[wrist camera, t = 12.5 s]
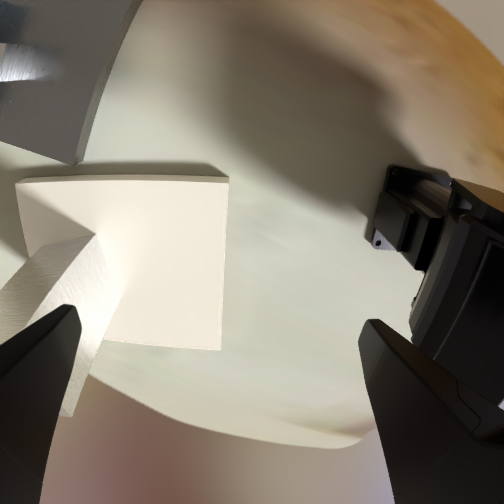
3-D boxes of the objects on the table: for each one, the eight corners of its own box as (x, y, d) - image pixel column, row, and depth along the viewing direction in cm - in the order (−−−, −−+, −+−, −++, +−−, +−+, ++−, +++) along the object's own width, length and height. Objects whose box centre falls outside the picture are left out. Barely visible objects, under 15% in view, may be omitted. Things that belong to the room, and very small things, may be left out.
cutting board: (229, 177, 20) (228, 183, 18) (221, 338, 26) (220, 350, 25) (25, 177, 18) (14, 184, 17) (58, 320, 25) (52, 330, 24)
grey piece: (144, -3, 13) (110, -35, 8) (82, 160, 18) (35, 187, 13) (4, -11, 10) (-42, -21, 5) (-36, 122, 15) (-84, 139, 10)
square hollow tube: (96, 233, 19) (13, 344, 10) (121, 297, 22) (71, 417, 12) (41, 246, 20) (-41, 341, 10) (67, 303, 22) (10, 406, 12)
